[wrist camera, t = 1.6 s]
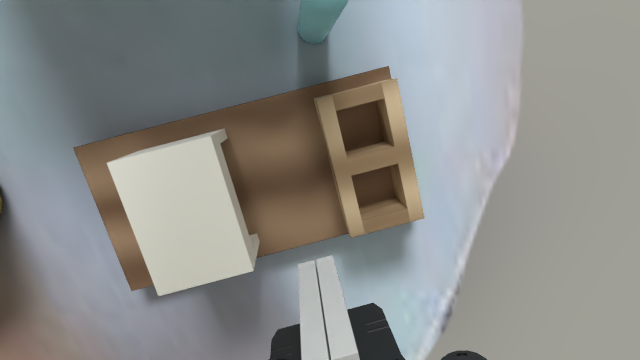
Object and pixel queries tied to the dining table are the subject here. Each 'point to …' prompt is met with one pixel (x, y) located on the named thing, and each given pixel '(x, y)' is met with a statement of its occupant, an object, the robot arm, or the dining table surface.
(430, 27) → the dining table surface
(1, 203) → the mug
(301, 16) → the peg
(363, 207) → the board
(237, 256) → the cover
